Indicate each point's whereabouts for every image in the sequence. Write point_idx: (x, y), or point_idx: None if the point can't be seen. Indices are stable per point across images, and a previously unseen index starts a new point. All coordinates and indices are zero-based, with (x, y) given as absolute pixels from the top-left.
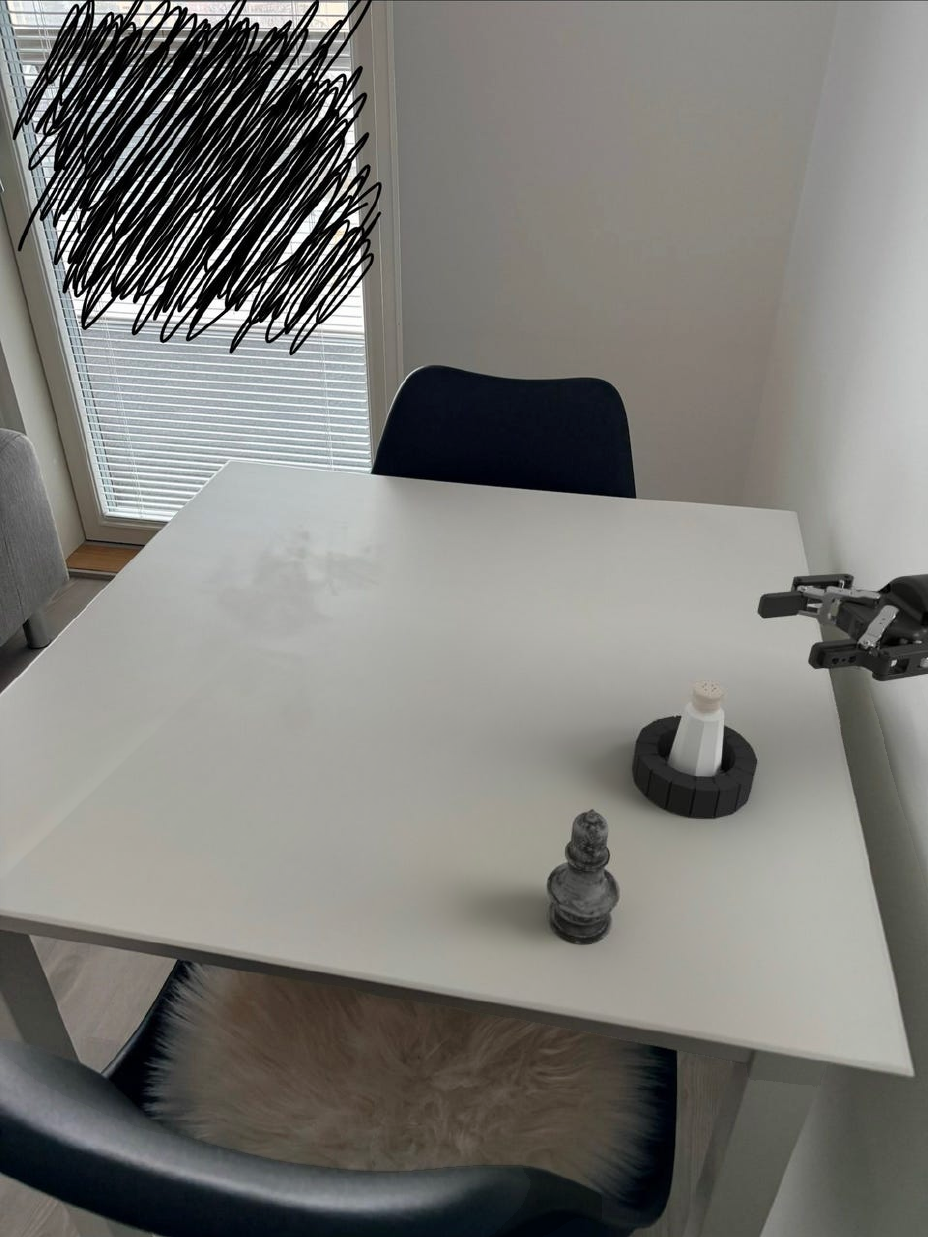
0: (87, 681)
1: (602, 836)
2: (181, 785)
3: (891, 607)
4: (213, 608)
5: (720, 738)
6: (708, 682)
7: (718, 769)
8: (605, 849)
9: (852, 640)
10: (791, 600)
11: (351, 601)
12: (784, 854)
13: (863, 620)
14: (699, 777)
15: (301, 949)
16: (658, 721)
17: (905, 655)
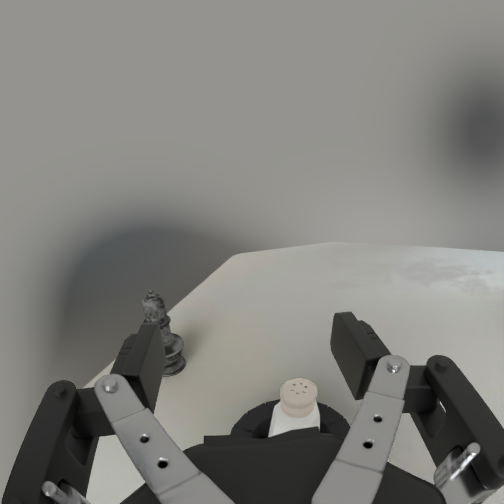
0: (348, 249)
1: (142, 302)
2: (288, 268)
3: None
4: (413, 261)
5: None
6: (311, 390)
7: None
8: (146, 317)
9: (133, 371)
10: (355, 356)
11: (448, 290)
12: None
13: (216, 447)
14: (250, 434)
15: (193, 293)
16: (341, 419)
17: (35, 417)
